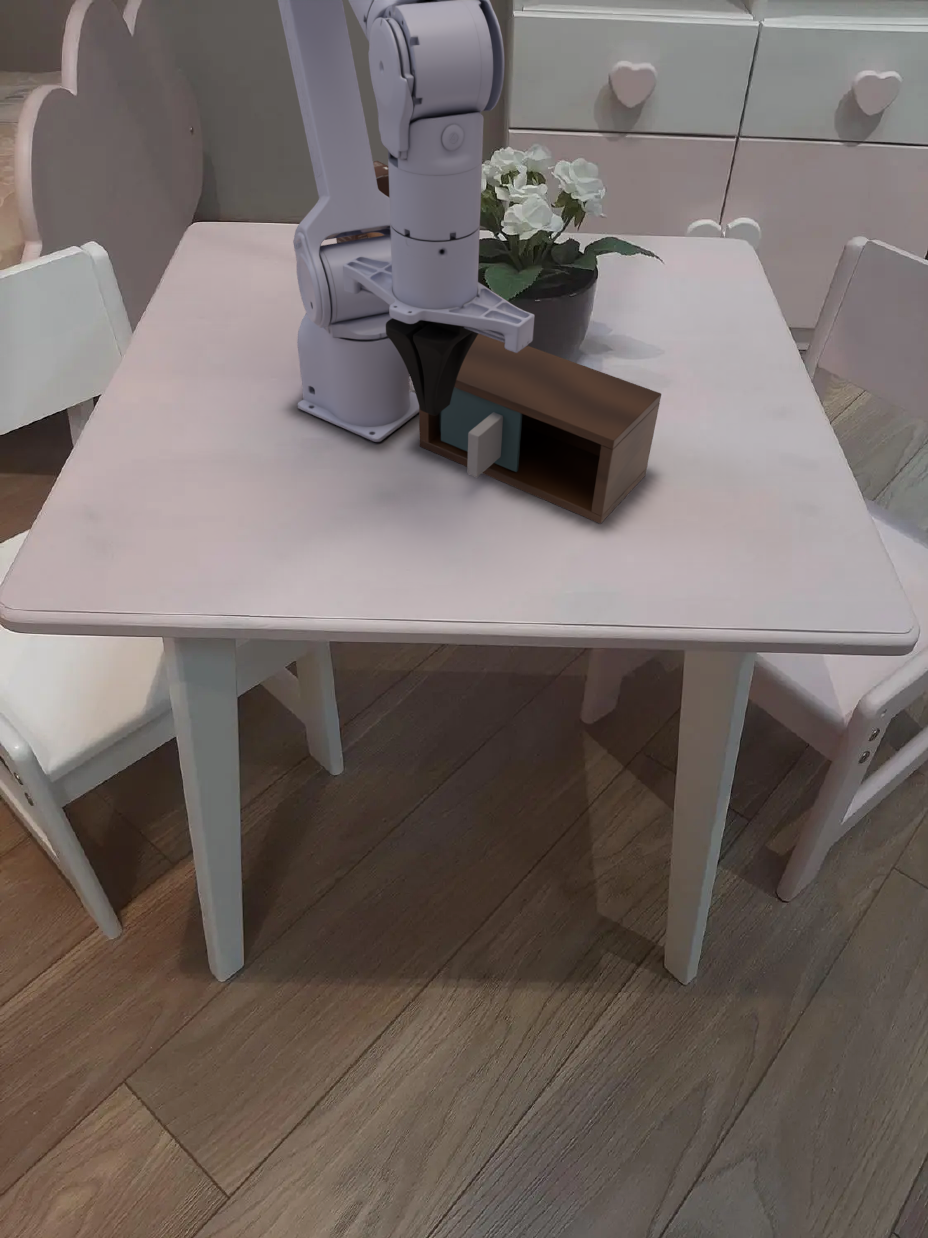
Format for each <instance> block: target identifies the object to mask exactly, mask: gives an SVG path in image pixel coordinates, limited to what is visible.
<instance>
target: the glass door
mask: <svg viewBox="0 0 928 1238" xmlns="http://www.w3.org/2000/svg"><path fill="white" fill-rule="evenodd" d="M521 426H522V413H519V412H517V411H514V410H511V409H509V408H506V407H504V406H501V405H499V404H496V403H493V402H491V401H488V400H486V399H483V398H481V397H478V396H476V395H473V394H470V393H468V392H465V391H463V390H460V389H458V388H455V387H454V389H453V393H452V397H451V401H450V405H449V406H447V407H446V408H445V409H443V410H442V411H441V441H443V442H446V443H448V444H450V445H453V446H455V447H458V448H460V449H462V450H465V451H467V452H468V464H467V466H466V469H467V470H466V473H467V475H469V476H472V477H475V478H478V477H480V476H481V475H482V474H483V472H484V471H485V470H486V469H487V468H488V467H490V466H491V465H492V464H493V463H496V464H498V465H500V466H503V467H505V468H508V469H510V470H512V471H515V472H517V471H518V464H519V451H520V439H521Z"/></svg>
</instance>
